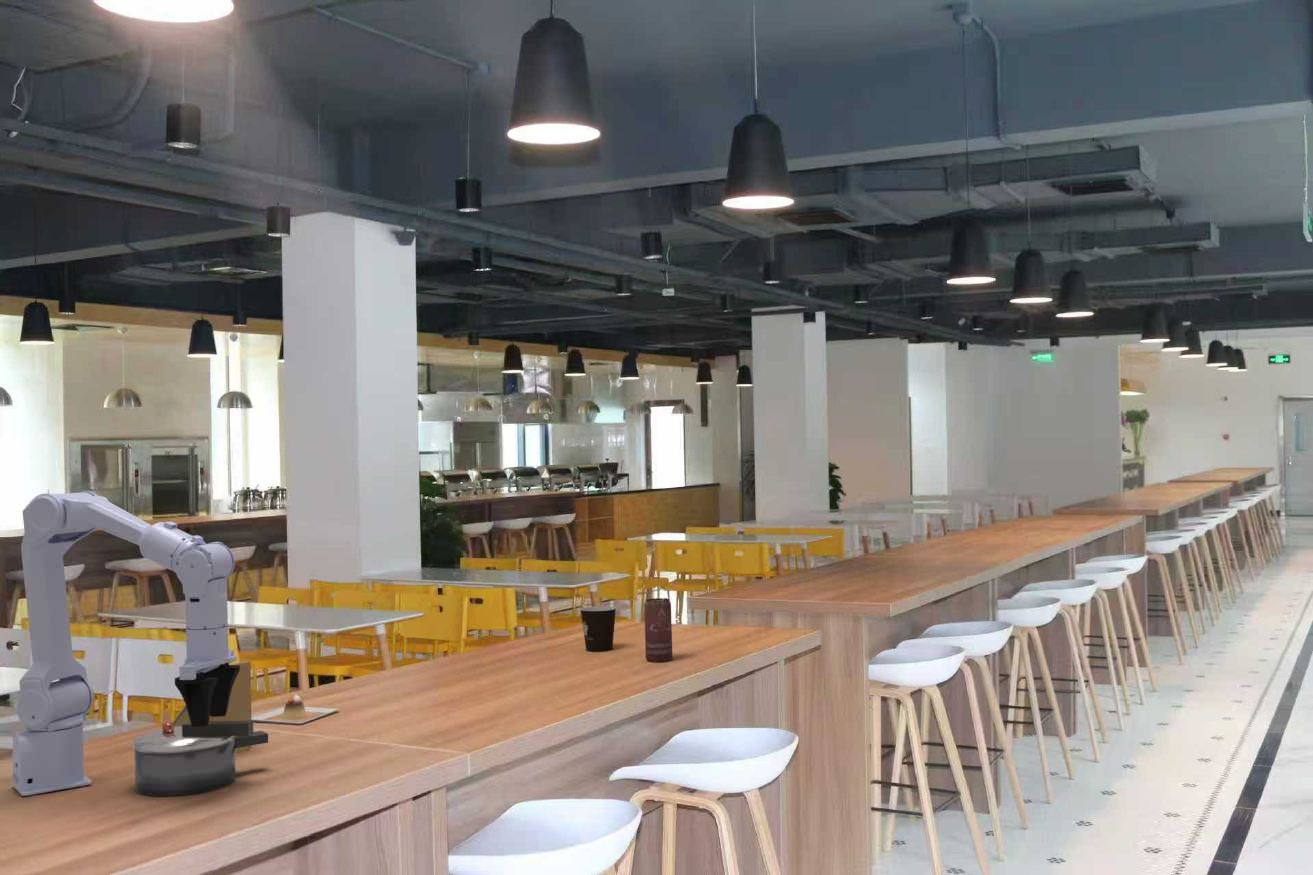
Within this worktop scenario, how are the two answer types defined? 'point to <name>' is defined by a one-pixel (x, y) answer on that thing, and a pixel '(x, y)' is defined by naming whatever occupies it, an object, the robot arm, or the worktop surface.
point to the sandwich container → (232, 702)
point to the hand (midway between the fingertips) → (209, 720)
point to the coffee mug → (598, 628)
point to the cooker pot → (190, 769)
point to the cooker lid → (191, 737)
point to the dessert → (293, 712)
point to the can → (658, 630)
